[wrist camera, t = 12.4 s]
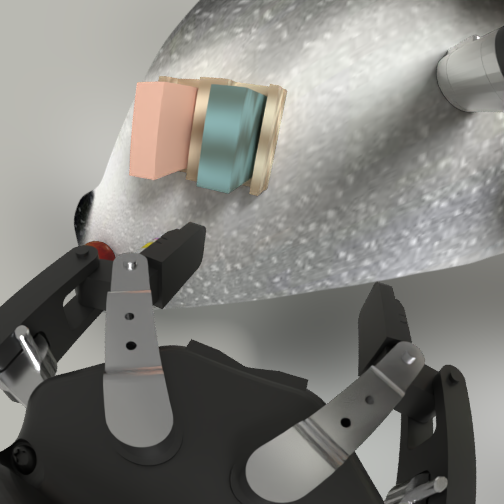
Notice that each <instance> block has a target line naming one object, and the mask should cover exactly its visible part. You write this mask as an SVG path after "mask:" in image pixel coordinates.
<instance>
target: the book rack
mask: <svg viewBox="0 0 504 504" xmlns="http://www.w3.org/2000/svg"><path fill="white" fill-rule="evenodd" d="M158 82H170V83H176V84H181V85H187V86H192V87H197V88H198V93H197V99H196V106H195V112H194V119H193V126H192V133H191V140H190V148H189V156H188V165H187V168H185V169H182V170H179V171H180V172H185V173H187V175H186V179H187V180H191V181H196V182H197V186H198V187H202V188H207V189H211V190H215V191H220V192H224V193H228V194H229V193H230V192H231V191H233V190H234V189H236V188H237V187H239V186H240V185H245V186H249V187H250V192H249V194H252V195H256V196H258V195H259V194H260V193H261V192H262V191H264V190H266V189H267V188H268V183H269V178H270V173H271V168H272V163H273V158H274V154H275V149H276V144H277V139H278V134H279V129H280V124H281V119H282V114H283V109H284V104H285V99H286V94H287V90H285V89H283V88H282V87H281V86H279V85H273V84H270V86H269V87H268V86H261V85H254V84H246V83H237V82H234V81H232V80H229V79H223V78H209V77H200V80H199V79H177V78H172V77H166V76H159V81H158Z"/></svg>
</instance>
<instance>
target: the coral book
mask: <svg viewBox="0 0 504 504" xmlns="http://www.w3.org/2000/svg"><path fill="white" fill-rule="evenodd" d="M197 93H198V88H197V87H192V86H187V85H181V84H176V83H170V82H138V83H137V89H136V96H135V104H134V113H133V123H132V135H131V149H130V171H129V175H130V176H136V177H141V178H146V179H151V180H155V179H158V178H161V177H163V176H166V175H169V174H171V173H174V172H177V171H179V170H182V169H185V168H187V165H188V156H189V148H190V140H191V133H192V126H193V119H194V112H195V106H196V99H197Z"/></svg>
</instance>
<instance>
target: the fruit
mask: <svg viewBox="0 0 504 504" xmlns="http://www.w3.org/2000/svg"><path fill="white" fill-rule="evenodd" d="M85 245H89V246H93V247H95V248H96V249H97V250H98V255H99V259H105V260H111V261H114V259H115V255H114V253H113V251H112V249H111V248H110V247H109V246H108V245H107V244H105V243H103V242H99V241H92V242H89V243H87V244H85Z"/></svg>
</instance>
